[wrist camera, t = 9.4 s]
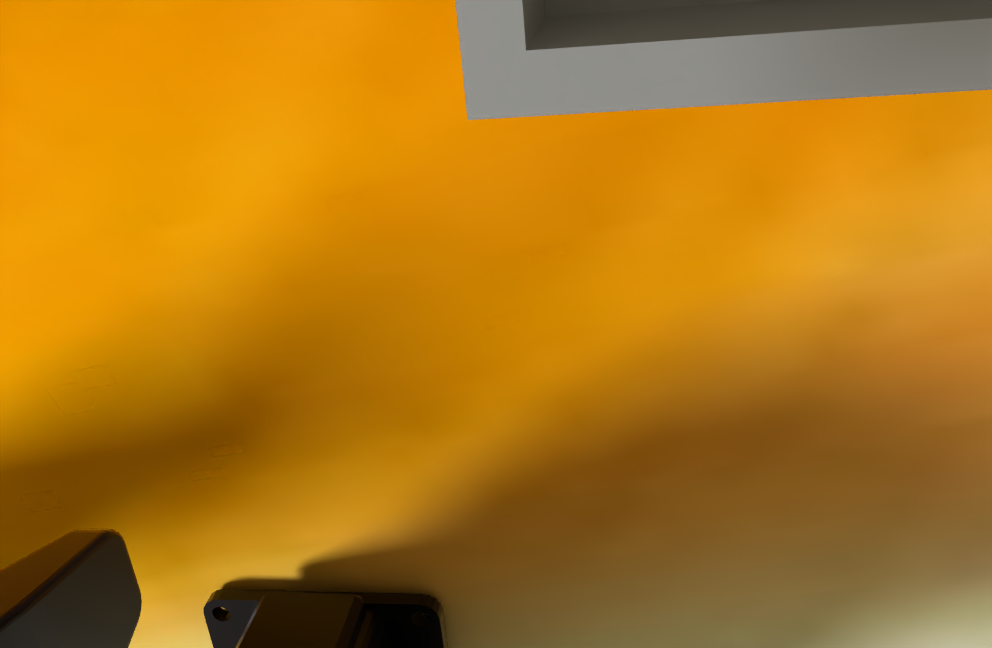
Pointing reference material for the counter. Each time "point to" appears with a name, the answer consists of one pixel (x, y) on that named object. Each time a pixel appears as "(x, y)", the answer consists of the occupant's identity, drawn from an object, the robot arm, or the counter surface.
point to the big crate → (713, 52)
